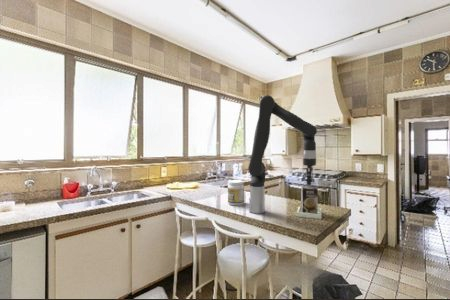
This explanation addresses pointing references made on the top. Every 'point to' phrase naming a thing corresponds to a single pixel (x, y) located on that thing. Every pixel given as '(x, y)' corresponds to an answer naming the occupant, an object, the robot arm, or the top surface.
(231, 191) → the supplement tub
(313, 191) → the coffee box
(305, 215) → the holder tray
